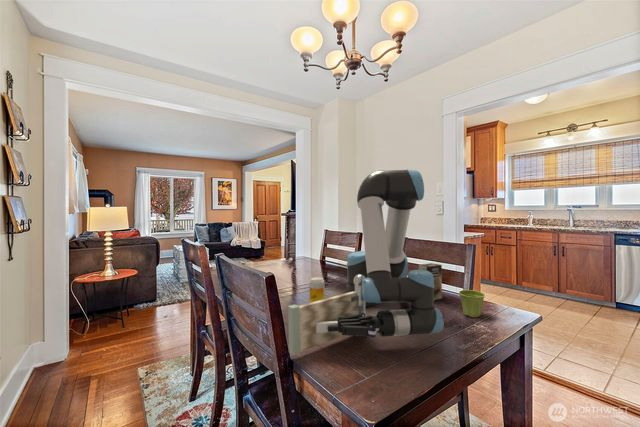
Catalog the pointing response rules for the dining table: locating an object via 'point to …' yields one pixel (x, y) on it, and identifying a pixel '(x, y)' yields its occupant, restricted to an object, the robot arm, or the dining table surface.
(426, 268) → the coffee box
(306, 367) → the dining table surface
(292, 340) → the gate panel
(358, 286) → the gate post
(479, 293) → the plant pot
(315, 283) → the orange and white cylinder
